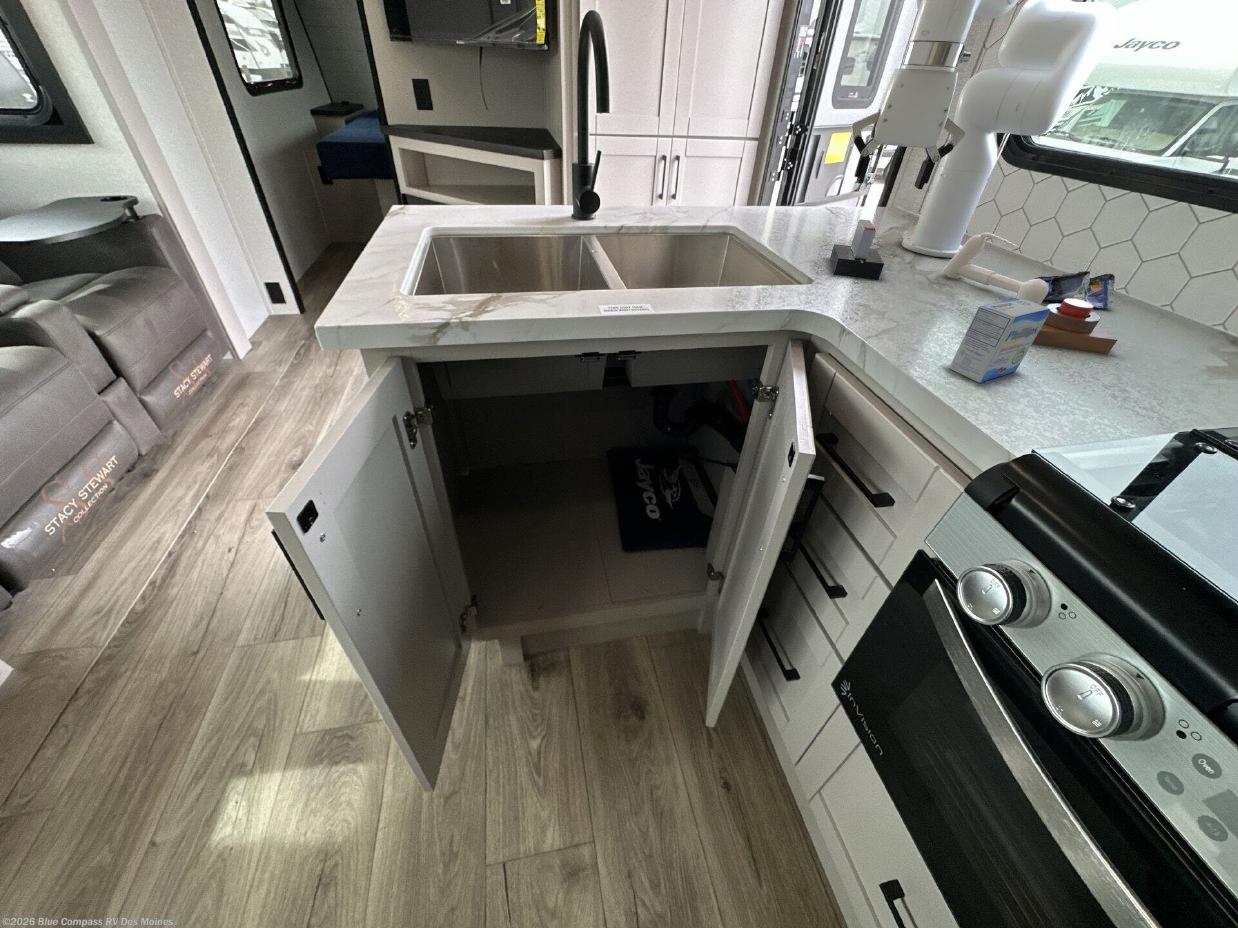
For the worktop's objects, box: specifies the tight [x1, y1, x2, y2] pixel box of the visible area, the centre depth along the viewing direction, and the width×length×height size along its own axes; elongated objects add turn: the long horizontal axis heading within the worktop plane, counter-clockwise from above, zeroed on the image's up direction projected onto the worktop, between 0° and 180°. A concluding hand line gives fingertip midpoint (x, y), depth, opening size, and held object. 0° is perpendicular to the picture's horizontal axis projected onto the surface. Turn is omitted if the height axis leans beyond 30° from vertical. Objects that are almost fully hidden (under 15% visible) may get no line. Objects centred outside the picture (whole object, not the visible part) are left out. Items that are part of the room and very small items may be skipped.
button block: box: [1031, 303, 1118, 355], centre depth 75 cm, size 8×10×4 cm
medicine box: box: [948, 297, 1051, 384], centre depth 64 cm, size 8×4×9 cm, turn 117°
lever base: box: [824, 243, 893, 281], centre depth 98 cm, size 12×12×3 cm
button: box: [1058, 299, 1094, 318], centre depth 74 cm, size 4×4×2 cm
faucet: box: [943, 232, 1048, 305], centre depth 90 cm, size 4×18×10 cm, turn 26°
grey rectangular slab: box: [850, 219, 877, 260], centre depth 95 cm, size 8×2×5 cm, turn 166°
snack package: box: [1034, 270, 1116, 310], centre depth 89 cm, size 12×6×12 cm
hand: (888, 185), depth 88 cm, fingers open, 9 cm apart
